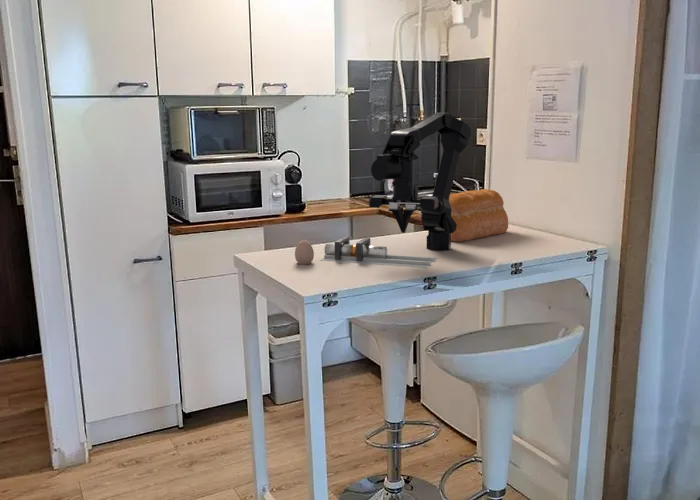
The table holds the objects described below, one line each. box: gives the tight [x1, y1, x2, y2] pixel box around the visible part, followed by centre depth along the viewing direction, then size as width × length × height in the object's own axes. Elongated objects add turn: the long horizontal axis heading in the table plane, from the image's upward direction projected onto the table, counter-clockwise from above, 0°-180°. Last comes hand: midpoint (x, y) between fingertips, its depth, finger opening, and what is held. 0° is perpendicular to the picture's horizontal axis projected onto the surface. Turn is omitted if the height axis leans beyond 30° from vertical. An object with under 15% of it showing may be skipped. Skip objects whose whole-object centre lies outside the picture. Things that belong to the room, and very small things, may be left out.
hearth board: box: [319, 254, 437, 269], centre depth 188 cm, size 31×12×2 cm, turn 69°
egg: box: [294, 239, 315, 266], centre depth 185 cm, size 5×5×7 cm
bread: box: [449, 188, 509, 243], centre depth 221 cm, size 14×26×15 cm, turn 128°
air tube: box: [323, 242, 388, 259], centre depth 191 cm, size 18×4×4 cm, turn 69°
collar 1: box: [334, 235, 351, 260], centre depth 191 cm, size 2×8×5 cm, turn 159°
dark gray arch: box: [355, 237, 371, 261], centre depth 189 cm, size 2×8×5 cm, turn 159°
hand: (403, 232), depth 186 cm, fingers closed
